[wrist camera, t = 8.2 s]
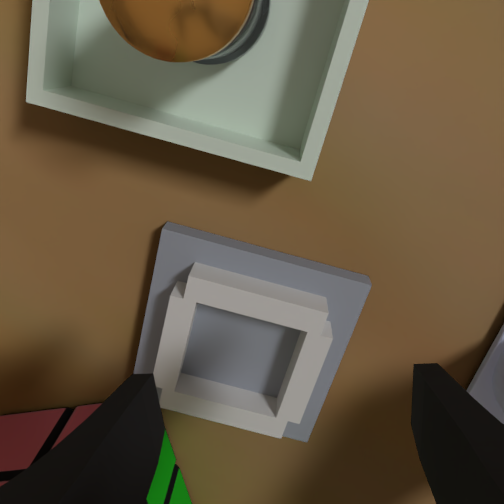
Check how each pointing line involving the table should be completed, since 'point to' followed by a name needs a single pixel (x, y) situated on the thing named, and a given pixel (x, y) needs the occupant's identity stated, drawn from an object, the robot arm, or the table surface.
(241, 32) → the dark cylindrical piece
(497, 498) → the robot arm
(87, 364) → the table surface
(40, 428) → the puzzle cube
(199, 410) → the mount plate
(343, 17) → the bin
